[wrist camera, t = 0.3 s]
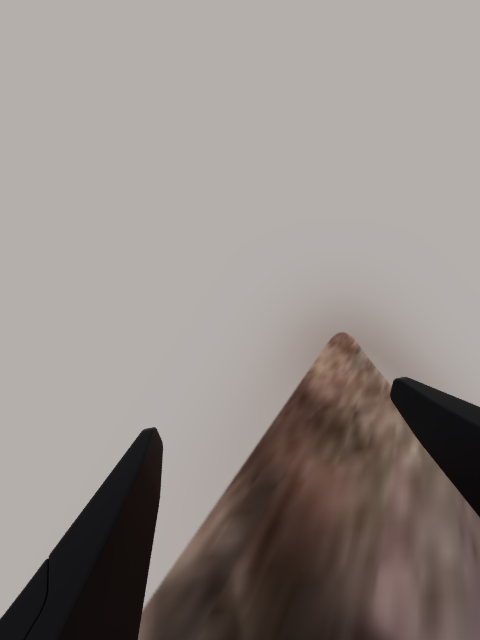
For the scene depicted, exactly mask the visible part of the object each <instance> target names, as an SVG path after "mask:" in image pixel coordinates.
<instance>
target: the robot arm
mask: <svg viewBox="0 0 480 640" xmlns="http://www.w3.org/2000/svg"><path fill="white" fill-rule="evenodd" d="M390 397H391V400H392V402H393V403H394V405H395V406H396V408H397V409H398V411H399V412H400V414H401V415H402V417H403V418H404V420H405V421H406V423H407V424H408V426H409V427H410V429H411V430H412V432H413V433H414V435H415V436H416V437H417V439H418V440H419V442H420V443H421V444H422V445H423V447H424V448H425V449H426V450H427V452H428V453H429V454H430V456H431V457H432V458H433V459H434V461H435V462H436V463H437V464H438V466H439V467H440V468H441V469H442V471H443V472H444V473H445V474H446V476H447V477H448V478H449V479H450V481H451V482H452V483H453V484H454V486H455V487H456V488H457V489H458V491H459V492H460V493H461V494H462V496H463V497H464V498H465V499H466V501H467V502H468V503H469V504H470V506H471V507H472V508H473V509H474V511H475V512H476V513H477V515H478V516H479V517H480V407H478V406H476V405H473V404H471V403H468V402H466V401H464V400H461V399H459V398H456V397H454V396H452V395H449V394H447V393H444V392H442V391H439V390H437V389H435V388H432V387H430V386H427V385H425V384H423V383H420V382H417V381H415V380H413V379H410V378H407V377H401V378H396V379H395V380H394V381H393V384H392V388H391V392H390ZM162 454H163V444H162V440H161V438H160V436H159V433H158V431H157V429H156V428H155V427H153V428H148V429H144V430H143V431H142V432H141V433H140V434H139V436H138V437H137V438H136V440H135V441H134V442H133V444H132V445H131V446H130V448H129V449H128V451H127V452H126V453H125V455H124V456H123V457H122V458H121V460H120V461H119V462H118V464H117V465H116V467H115V468H114V469H113V471H112V472H111V473H110V475H109V476H108V477H107V479H106V480H105V481H104V483H103V484H102V485H101V487H100V488H99V489H98V491H97V492H96V493H95V495H94V496H93V497H92V499H91V500H90V501H89V503H88V504H87V505H86V507H85V508H84V509H83V511H82V512H81V513H80V515H79V516H78V517H77V519H76V520H75V522H74V523H73V524H72V525H71V527H70V528H69V529H68V531H67V532H66V533H65V535H64V536H63V537H62V539H61V540H60V541H59V543H58V544H57V545H56V547H55V548H54V549H53V551H52V552H51V553H50V555H49V559H46V560H45V561H44V563H43V564H42V565H41V567H40V568H39V569H38V571H37V572H36V573H35V575H34V576H33V577H32V579H31V580H30V581H29V583H28V584H27V585H26V587H25V588H24V589H23V590H22V592H21V593H20V594H19V596H18V597H17V598H16V600H15V601H14V602H13V603H12V605H11V606H10V607H9V609H8V610H7V611H6V613H5V614H4V615H3V616H2V617H1V619H0V640H138V634H139V628H140V622H141V615H142V609H143V603H144V596H145V589H146V584H147V577H148V570H149V565H150V558H151V551H152V545H153V539H154V532H155V526H156V520H157V514H158V507H159V500H160V489H161V473H162Z"/></svg>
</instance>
